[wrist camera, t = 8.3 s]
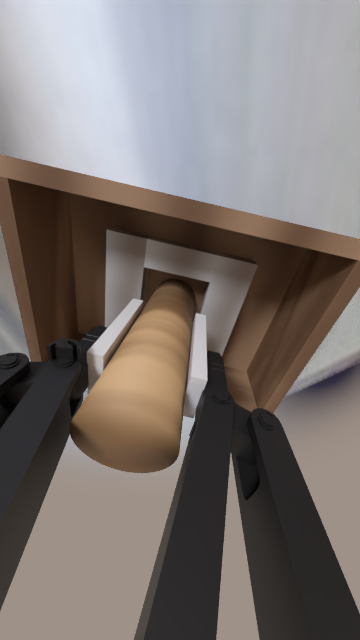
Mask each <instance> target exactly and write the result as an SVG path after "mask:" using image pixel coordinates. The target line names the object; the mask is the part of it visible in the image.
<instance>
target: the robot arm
mask: <svg viewBox="0 0 360 640" xmlns="http://www.w3.org/2000/svg"><path fill="white" fill-rule="evenodd" d="M142 307H143V300H138V299H134V298H133V299H132V300H131V302H130V303H129V304H128V305H127V306H126V307H125V309H124V310H123V311H122V312H121V313H120V314H119V315H118V317H117V318H116V319H115V320H114V321H113V322H112V324H111V325H110V326H109V327H103V326H97V327H95V328H92V329H91V330H90V331H89V332H88V333H87V334H86V335H85V336H84V337H83V338H82V339H81V340H80V341H79V342H77V341H76V340H73V339H60V340H56V341H54V342H51V343H50V344H49V345H48V346H47V350H48V356H49V361H46V362H29V358H28V357H27V355H25V354H23V353H8V354H5V355H1V356H0V610H1V607H2V605H3V602H4V600H5V597H6V595H7V592H8V589H9V587H10V584H11V582H12V579H13V577H14V574H15V572H16V569H17V567H18V564H19V562H20V559H21V557H22V554H23V551H24V548H25V546H26V544H27V541H28V539H29V536H30V534H31V531H32V528H33V526H34V523H35V521H36V518H37V516H38V513H39V511H40V508H41V506H42V503H43V501H44V498H45V496H46V493H47V490H48V488H49V485H50V483H51V480H52V478H53V475H54V473H55V470H56V467H57V465H58V462H59V460H60V457H61V455H62V452H63V449H64V447H65V445H66V442H67V440H68V437H69V434H70V423H71V421H72V419H73V417H74V416H75V414H76V413H77V411H78V410H79V408H80V406H81V404H82V401H83V393H84V391H85V390H86V388H87V387H88V394H89V392H90V391H91V389H92V388H93V386H94V385H95V383H96V382H97V380H98V379H99V377H100V375H101V374H102V372H103V371H104V369H105V368H106V366H107V365H108V363H109V361H110V360H111V358H112V357H113V355H114V354H115V352H116V351H117V349H118V348H119V346H120V344H121V343H122V341H123V340H124V338H125V337H126V335H127V334H128V332H129V330H130V329H131V327H132V326H133V324H134V323H135V321H136V320H137V318H138V317H139V315H140V313H141V312H142ZM194 415H195V422H194V425H193V427H192V430H191V432H190V435H189V436H190V438H189V442H188V446H187V449H186V453H185V456H184V460H183V464H182V467H181V471H180V474H179V478H178V482H177V485H176V489H175V493H174V496H173V501H172V503H171V507H170V511H169V515H168V518H167V522H166V525H165V529H164V532H163V536H162V540H161V544H160V547H159V551H158V554H157V558H156V562H155V565H154V569H153V572H152V576H151V580H150V583H149V587H148V590H147V594H146V598H145V601H144V605H143V608H142V612H141V616H140V619H139V623H138V627H137V630H136V634H135V637H134V640H216V634H217V620H218V607H219V593H220V581H221V568H222V555H223V542H224V529H225V515H226V503H227V489H228V476H229V464H230V452H231V454H232V460H233V467H234V474H235V480H236V487H237V493H238V500H239V506H240V513H241V520H242V526H243V533H244V540H245V546H246V553H247V559H248V565H249V572H250V579H251V586H252V592H253V599H254V605H255V612H256V619H257V624H258V631H259V638H260V640H360V614H359V611H358V609H357V606H356V604H355V601H354V599H353V597H352V594H351V592H350V589H349V587H348V585H347V582H346V579H345V578H344V575H343V572H342V570H341V567H340V565H339V563H338V560H337V558H336V555H335V553H334V551H333V548H332V546H331V543H330V541H329V538H328V536H327V533H326V531H325V529H324V526H323V524H322V521H321V519H320V517H319V514H318V512H317V509H316V507H315V505H314V502H313V500H312V497H311V495H310V492H309V490H308V487H307V485H306V483H305V480H304V478H303V475H302V473H301V470H300V468H299V466H298V463H297V461H296V458H295V456H294V454H293V451H292V449H291V446H290V444H289V442H288V439H287V437H286V434H285V432H284V430H283V427H282V425H281V423H280V421H279V419H278V418H277V417H276V416H275V415H274V414H273V413H271V412H270V411H268V410H265V409H263V408H256V409H254V410H253V411H252V412H251V411H249V410H247V409H245V408H243V407H241V406H239V405H238V404H236V403H235V402H234V399H233V397H232V395H231V394H230V393H229V392H228V389H227V382H226V375H225V368H224V360H223V358H222V356H221V355H220V353H217V352H213V351H209V350H207V340H206V315H203V314H198V313H196V314H195V318H194V322H193V325H192V333H191V343H190V352H189V362H188V372H187V382H186V391H185V401H184V411H183V416H186V417H191V418H193V417H194Z"/></svg>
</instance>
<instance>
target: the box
mask: <svg viewBox="0 0 360 640" xmlns="http://www.w3.org/2000/svg"><path fill="white" fill-rule="evenodd" d="M0 223H1V227H2V232H3V236H4V241H5V245H6V250H7V254H8V259H9V263H10V268H11V272H12V277H13V282H14V286H15V291H16V295H17V300H18V304H19V309H20V313H21V318H22V322H23V327H24V331H25V336H26V340H27V345H28V349H29V354H30V359H31V362H46V361H49V356H48V350H47V346H48V345H49V344H50V343H51V342H54V341H56V340H60V339H73V340H76V341H77V342H79V341H80V340H81V339H82V338H83V337H84V336H85V335H86V334H87V333H88V332H89V331H90V330H91V329H92V328H95V327H97V326H103V327H109V326H110V325H111V324H112V322H113V321H114V320H115V319H116V318H117V317H118V315H119V314H120V313H121V312H122V311H123V310H124V309H125V307H126V306H127V305H128V304H129V303H130V302H131V300H132V299H133V298H134V299H138V300H143V307H142V310H143V309H144V307H145V306H146V304H147V303H148V301H149V299H150V298H151V296H152V295H153V293H154V292H155V290H156V289H157V287H158V286H159V285H160V284H161V283H162V282H163V281H165V280H168V279H180V280H183V281H185V282H186V283H188V284H189V285H190V286H191V288H192V289H193V291H194V295H195V304H194V314H193V322H194V318H195V314H196V313H198V314H203V315H206V340H207V350H209V351H213V352H217V353H220V355H221V356H222V358H223V360H224V368H225V375H226V382H227V389H228V392H229V393H230V394H231V395H232V397H233V399H234V402H235V403H236V404H238V405H239V406H241V407H243V408H245V409H247V410H249V411H251V412H252V411H253V410H254V409H256V408H263V409H265V410H268V411H270V412H271V413H273V412H274V411H275V409H276V408H277V407H278V405H279V404H280V402H281V401H282V399H283V398H284V396H285V395H286V393H287V392H288V391H289V389H290V388H291V386H292V385H293V383H294V382H295V380H296V379H297V377H298V376H299V375H300V373H301V372H302V370H303V369H304V367H305V366H306V364H307V363H308V361H309V360H310V359H311V357H312V356H313V354H314V353H315V351H316V350H317V348H318V347H319V345H320V344H321V343H322V341H323V340H324V338H325V337H326V335H327V334H328V332H329V331H330V329H331V328H332V327H333V325H334V324H335V322H336V321H337V319H338V318H339V316H340V315H341V313H342V312H343V311H344V309H345V308H346V306H347V305H348V303H349V302H350V300H351V299H352V297H353V296H354V295H355V293H356V292H357V290H358V289H359V287H360V239H357V238H353V237H348V236H344V235H340V234H336V233H331V232H327V231H323V230H319V229H314V228H310V227H306V226H302V225H297V224H293V223H289V222H285V221H280V220H276V219H272V218H268V217H263V216H259V215H255V214H251V213H246V212H242V211H238V210H234V209H229V208H225V207H221V206H217V205H212V204H208V203H204V202H200V201H195V200H191V199H187V198H183V197H178V196H174V195H170V194H166V193H161V192H157V191H153V190H149V189H144V188H140V187H136V186H132V185H127V184H123V183H119V182H115V181H110V180H106V179H102V178H98V177H93V176H89V175H85V174H81V173H76V172H72V171H68V170H64V169H59V168H55V167H51V166H47V165H42V164H38V163H34V162H30V161H26V160H21V159H17V158H13V157H9V156H4V155H0ZM192 325H193V323H192Z"/></svg>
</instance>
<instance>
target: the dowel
mask: <svg viewBox="0 0 360 640" xmlns="http://www.w3.org/2000/svg"><path fill="white" fill-rule="evenodd" d="M194 304H195V295H194V291H193V289H192V288H191V286H190V285H189V284H188V283H186V282H185V281H183V280H180V279H168V280H165V281H163V282H162V283H161V284H160V285H159V286H158V287H157V289H156V290H155V292H154V293H153V295H152V296H151V298H150V299H149V301H148V303H147V304H146V306H145V307H144V309H143V310H142V312H141V313H140V315H139V317H138V318H137V320H136V321H135V323H134V324H133V326H132V327H131V329H130V330H129V332H128V334H127V335H126V337H125V338H124V340H123V341H122V343H121V344H120V346H119V348H118V349H117V351H116V352H115V354H114V355H113V357H112V358H111V360H110V361H109V363H108V365H107V366H106V368H105V369H104V371H103V372H102V374H101V375H100V377H99V379H98V380H97V382H96V383H95V385H94V386H93V388H92V389H91V391H90V392H89V394H88V396H87V397H86V399H85V400H84V402H83V403H82V405H81V406H80V408H79V410H78V411H77V413H76V414H75V416H74V417H73V419H72V421H71V423H70V435H71V438H72V440H73V441H74V443H75V444H76V446H77V447H78V448H79V449H80V450H81V451H82V452H84V453H85V454H86V455H87V456H89V457H90V458H92V459H93V460H96V461H97V462H99V463H101V464H103V465H106V466H108V467H111V468H114V469H117V470H121V471H126V472H134V473H149V472H155V471H160V470H163V469H165V468H167V467H169V466H171V465H172V464H173V463H174V462H175V460H176V459H177V457H178V455H179V449H180V440H181V430H182V420H183V411H184V401H185V391H186V382H187V372H188V362H189V352H190V343H191V333H192V323H193V314H194Z"/></svg>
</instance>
